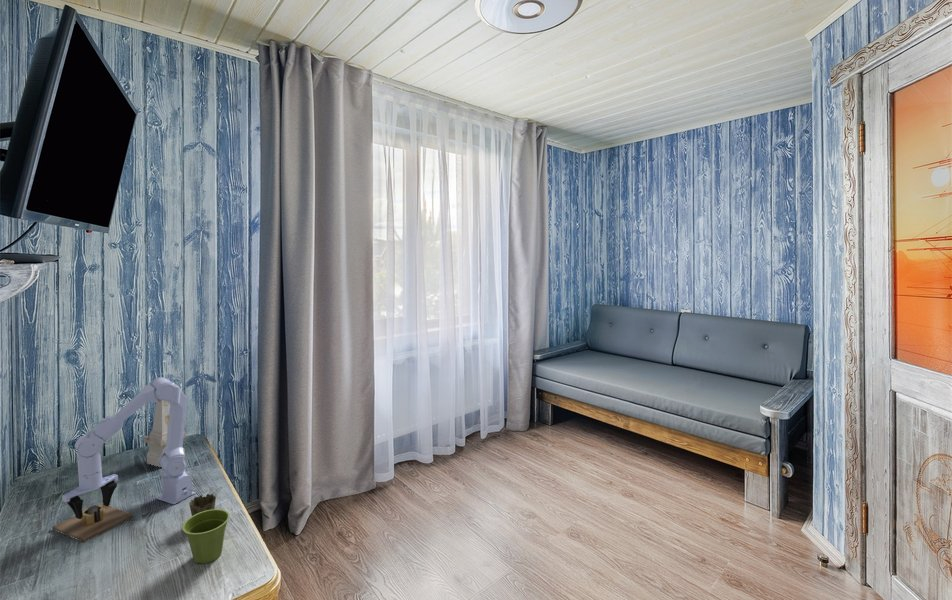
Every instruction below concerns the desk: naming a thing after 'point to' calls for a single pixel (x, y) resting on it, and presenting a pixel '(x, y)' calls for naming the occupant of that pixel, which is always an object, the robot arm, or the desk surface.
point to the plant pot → (206, 534)
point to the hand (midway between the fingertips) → (93, 511)
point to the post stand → (88, 532)
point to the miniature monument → (158, 433)
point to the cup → (202, 504)
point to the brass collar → (92, 516)
